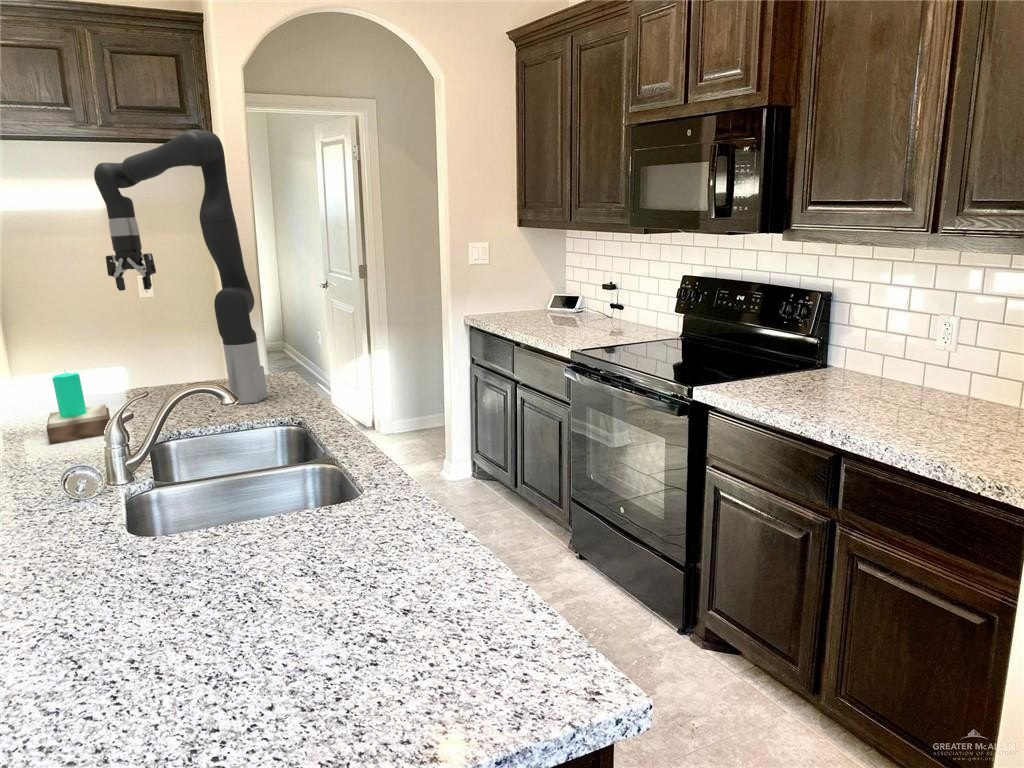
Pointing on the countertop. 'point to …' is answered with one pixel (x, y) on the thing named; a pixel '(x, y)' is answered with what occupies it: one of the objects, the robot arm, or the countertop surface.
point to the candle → (69, 394)
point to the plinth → (77, 425)
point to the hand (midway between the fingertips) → (135, 289)
